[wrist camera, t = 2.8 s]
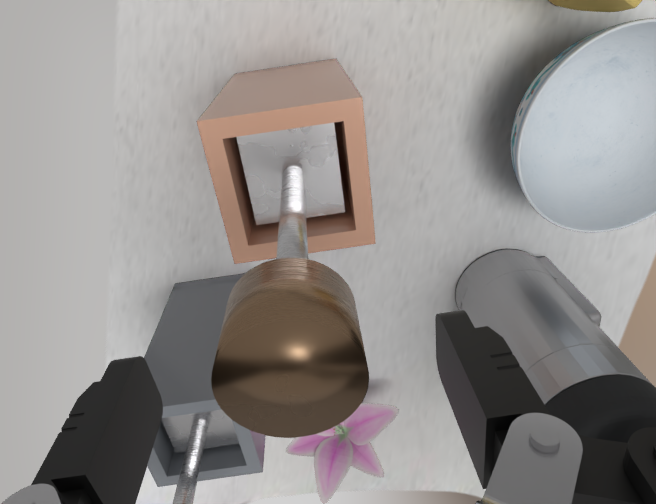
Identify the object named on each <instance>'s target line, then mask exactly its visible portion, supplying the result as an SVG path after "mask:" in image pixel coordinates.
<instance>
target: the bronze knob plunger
mask: <svg viewBox="0 0 656 504" xmlns="http://www.w3.org/2000/svg"><path fill="white" fill-rule="evenodd" d="M236 138H237V143H238V147H239V151H240V156H241V160H242V164H243V169H244V173H245V178H246V182H247V186H248V191H249V195H250V199H251V204H252V208H253V212H254V217H255V221H256V225H261V224H268V223H274V222H279V229H278V243H277V257H276V260H271V261H268V262H265V263H262V264H260V265H258V266H256V267H254V268H253V269H251V270H249V271H248V272H247V273H246V274H244V275H243V276H242V277H241V278H240V279H239V280H238V281H237V283H236V284H235V286H234V287H233V289H232V291H231V293H230V295H229V299H228V302H227V306H226V311H225V315H224V320H223V324H222V329H221V333H220V338H219V342H218V347H217V351H216V356H215V360H214V365H213V369H212V376H211V385H212V391H213V395H214V397H215V399H216V402H217V403H218V405H219V406H220V408H221V409H222V410H223V411H224V413H225V414H226V415H227V416H228V417H230V418H231V419H232V420H233V421H235V422H236V423H238V424H239V425H241V426H243V427H245V428H246V429H249V430H251V431H254V432H256V433H260V434H263V435H268V436H273V437H284V438H291V437H304V436H309V435H314V434H317V433H321V432H323V431H326V430H329V429H331V428H333V427H335V426H337V425H338V424H340V423H342V422H343V421H345V420H346V419H347V418H348V417H350V416H351V415H352V414H353V413H354V412H355V411H356V410H357V408H358V407H359V406H360V404H361V403H362V401H363V399H364V397H365V395H366V392H367V389H368V383H369V372H368V367H367V362H366V356H365V351H364V346H363V341H362V336H361V331H360V326H359V321H358V316H357V310H356V305H355V301H354V297H353V294H352V291H351V289H350V288H349V286H348V284H347V283H346V282H345V281H344V279H343V278H342V277H341V276H340V275H339V274H338V273H336V272H335V271H333V270H332V269H331V268H329V267H327V266H325V265H323V264H321V263H318V262H316V261H312V260H308V242H307V222H306V218H309V217H316V216H323V215H329V214H336V213H343V212H345V206H344V198H343V190H342V182H341V174H340V166H339V158H338V150H337V141H336V133H335V125H334V123H327V124H320V125H313V126H307V127H300V128H293V129H286V130H279V131H273V132H266V133H259V134H252V135H245V136H239V137H236Z"/></svg>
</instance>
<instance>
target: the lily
mask: <svg viewBox="0 0 656 504" xmlns="http://www.w3.org/2000/svg"><path fill="white" fill-rule="evenodd" d="M398 412H399V409H398V408H397V407H394V406H391V405H384V404H374V403H361V404H360V406H359V407H358V408H357V410H356V411H355V412H354V413H353V414H352V415H351V416H350V417H348V418H347V419H346V420H345V421H343V422H342V423H340V424H338V425H337V426H335V427H333V428H331V429H329V430H326V431H323V432H321V433H317V434H314V435H309V436H304V437H296V438H295V439H294V440H293V441H292V442H291V443H290V444H289V446H288V447H287V448H286V452H287V453H289V454H293V455H299V456H314V469H315V477H316V484H317V489H318V494H319V497H320V500H321V502H322V503H327V502H328V501H329V499H331V497H332V496H333V494H334V493H335V491H336V490H337V488H338V487H339V485H340V483H341V482H342V480H343V479H344V477H345V475H346V474H347V472H348V470H349V468H350V466H353V467H355V468H357V469H358V470H361V471H363V472H365V473H368V474H370V475H373V476H377V477H384V471H383V468H382V466H381V463H380V461H379V459H378V456H377V454H376V452H375V450H374V448H373V446H372V445H371V443H370V441H372V440H373V439H374V438H375V437H376V436H378V435H379V434H380V433H381V432H382V431H383V430H384V429H385V428H386V427H387V426H388V425H389V424H390V423H391V422H392V421H393V420H394V419H395V417H396V416H397V414H398Z"/></svg>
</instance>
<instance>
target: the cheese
mask: <svg viewBox="0 0 656 504" xmlns="http://www.w3.org/2000/svg"><path fill="white" fill-rule="evenodd" d="M549 1H550V2H551V3H552V4H554V5H555V6H560V7H564V8H569V9H574V10H581V11H596V12H617V11H623V10H627V9H632V8H635V7H637V6H638V5H639V3H640V2H641V1H642V0H549Z"/></svg>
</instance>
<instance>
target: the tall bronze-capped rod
mask: <svg viewBox="0 0 656 504" xmlns="http://www.w3.org/2000/svg"><path fill="white" fill-rule="evenodd" d="M162 422H163V425H164V427H165V429H166V431H167V434H168V436H169V438H170V441H171V443H172V445H173V447H174V450H175V452H176V453H177V452H184V451H185V455H184V459H183V463H182V467H181V472H180V476H179V480H178V484H177V488H176V492H175V496H174V500H173V504H193V500H194V495H195V490H196V485H197V480H198V475H199V470H200V465H201V460H202V455H203V450H204V449H205V448H212V447H219V446H227V445H234V444H239V441H238V438H237V435H236V432H235V429H234V426H233V423H232V420H231V418H230V417H228V416H227V415H226V414H225V413H224V411H223V410H222V409H221V410H214V411H207V412H200V413H193V414H186V415H179V416H172V417H165V418H162Z"/></svg>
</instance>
